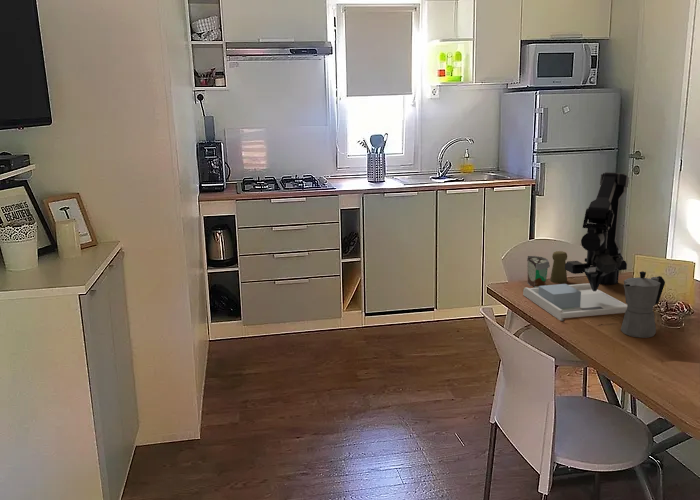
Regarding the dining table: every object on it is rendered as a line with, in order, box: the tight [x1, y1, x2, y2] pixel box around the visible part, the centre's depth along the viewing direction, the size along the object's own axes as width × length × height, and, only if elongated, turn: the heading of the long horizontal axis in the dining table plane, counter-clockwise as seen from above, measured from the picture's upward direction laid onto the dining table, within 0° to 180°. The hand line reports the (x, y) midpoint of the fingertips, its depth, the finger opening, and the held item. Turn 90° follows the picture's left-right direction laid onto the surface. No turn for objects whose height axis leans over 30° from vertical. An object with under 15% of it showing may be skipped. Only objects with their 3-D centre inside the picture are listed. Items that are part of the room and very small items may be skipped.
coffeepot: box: [620, 270, 666, 339], centre depth 180 cm, size 15×9×18 cm, turn 115°
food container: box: [526, 255, 550, 288], centre depth 226 cm, size 12×6×10 cm, turn 179°
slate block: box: [538, 283, 581, 309], centre depth 205 cm, size 10×10×5 cm
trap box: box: [522, 283, 627, 322], centre depth 207 cm, size 26×26×3 cm
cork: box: [549, 250, 568, 284], centre depth 232 cm, size 6×6×11 cm
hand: (594, 291), depth 208 cm, fingers closed
